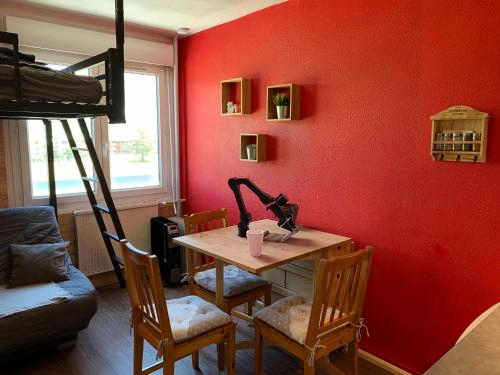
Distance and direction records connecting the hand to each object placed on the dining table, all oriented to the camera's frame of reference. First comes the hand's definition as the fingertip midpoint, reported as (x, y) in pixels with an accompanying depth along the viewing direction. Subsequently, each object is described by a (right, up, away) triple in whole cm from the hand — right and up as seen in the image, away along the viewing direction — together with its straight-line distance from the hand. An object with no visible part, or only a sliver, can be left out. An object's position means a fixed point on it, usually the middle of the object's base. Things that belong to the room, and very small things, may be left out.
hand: (294, 229), depth 235 cm
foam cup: (-25, -11, -27) cm, 38 cm away
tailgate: (-7, -5, +3) cm, 9 cm away
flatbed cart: (-14, -6, +6) cm, 16 cm away
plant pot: (0, -2, +37) cm, 37 cm away
